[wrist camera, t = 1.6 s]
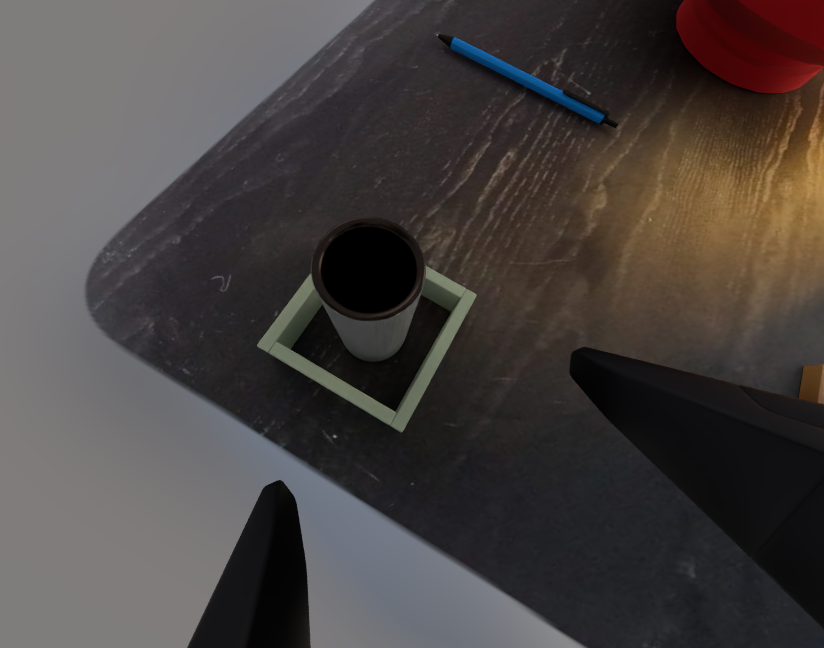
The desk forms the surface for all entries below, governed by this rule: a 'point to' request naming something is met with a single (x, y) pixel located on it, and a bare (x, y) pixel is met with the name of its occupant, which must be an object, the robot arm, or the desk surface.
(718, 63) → the bowl
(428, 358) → the square frame
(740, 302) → the desk surface
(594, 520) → the desk surface
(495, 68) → the pen
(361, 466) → the desk surface
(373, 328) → the grey cylindrical cup
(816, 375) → the board
